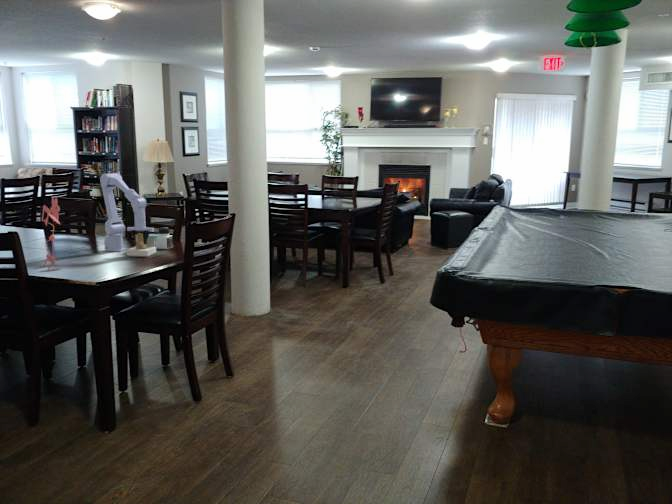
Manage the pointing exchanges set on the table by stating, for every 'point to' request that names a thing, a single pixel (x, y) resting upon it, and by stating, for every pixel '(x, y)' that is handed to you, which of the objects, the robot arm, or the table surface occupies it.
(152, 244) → the awning
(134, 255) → the socket block
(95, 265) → the table surface
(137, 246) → the oak peg
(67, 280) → the table surface
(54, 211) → the figurine
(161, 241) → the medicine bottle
